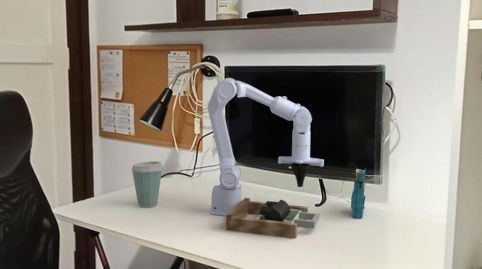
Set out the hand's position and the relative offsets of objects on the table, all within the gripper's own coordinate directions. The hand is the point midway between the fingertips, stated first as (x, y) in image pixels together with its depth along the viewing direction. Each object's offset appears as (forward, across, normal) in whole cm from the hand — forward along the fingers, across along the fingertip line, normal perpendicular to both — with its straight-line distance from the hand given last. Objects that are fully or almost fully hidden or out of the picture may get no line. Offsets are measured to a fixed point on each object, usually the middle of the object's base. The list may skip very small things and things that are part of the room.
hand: (300, 186), depth 165 cm
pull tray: (+9, -1, -13) cm, 16 cm away
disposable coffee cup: (+10, -52, -7) cm, 53 cm away
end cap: (+10, -5, -12) cm, 17 cm away
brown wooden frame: (+9, -8, -13) cm, 18 cm away
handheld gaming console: (+10, +18, +6) cm, 21 cm away
